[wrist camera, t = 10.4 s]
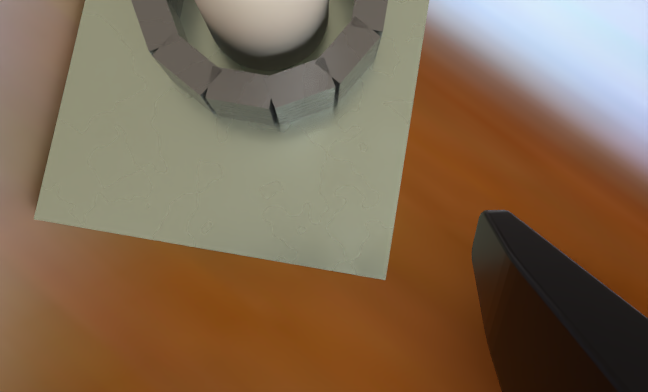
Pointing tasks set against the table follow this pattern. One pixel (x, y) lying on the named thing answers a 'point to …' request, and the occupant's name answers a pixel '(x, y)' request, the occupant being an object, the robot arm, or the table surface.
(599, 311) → the robot arm
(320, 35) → the post
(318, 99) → the grey ring base plate
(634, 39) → the table surface
